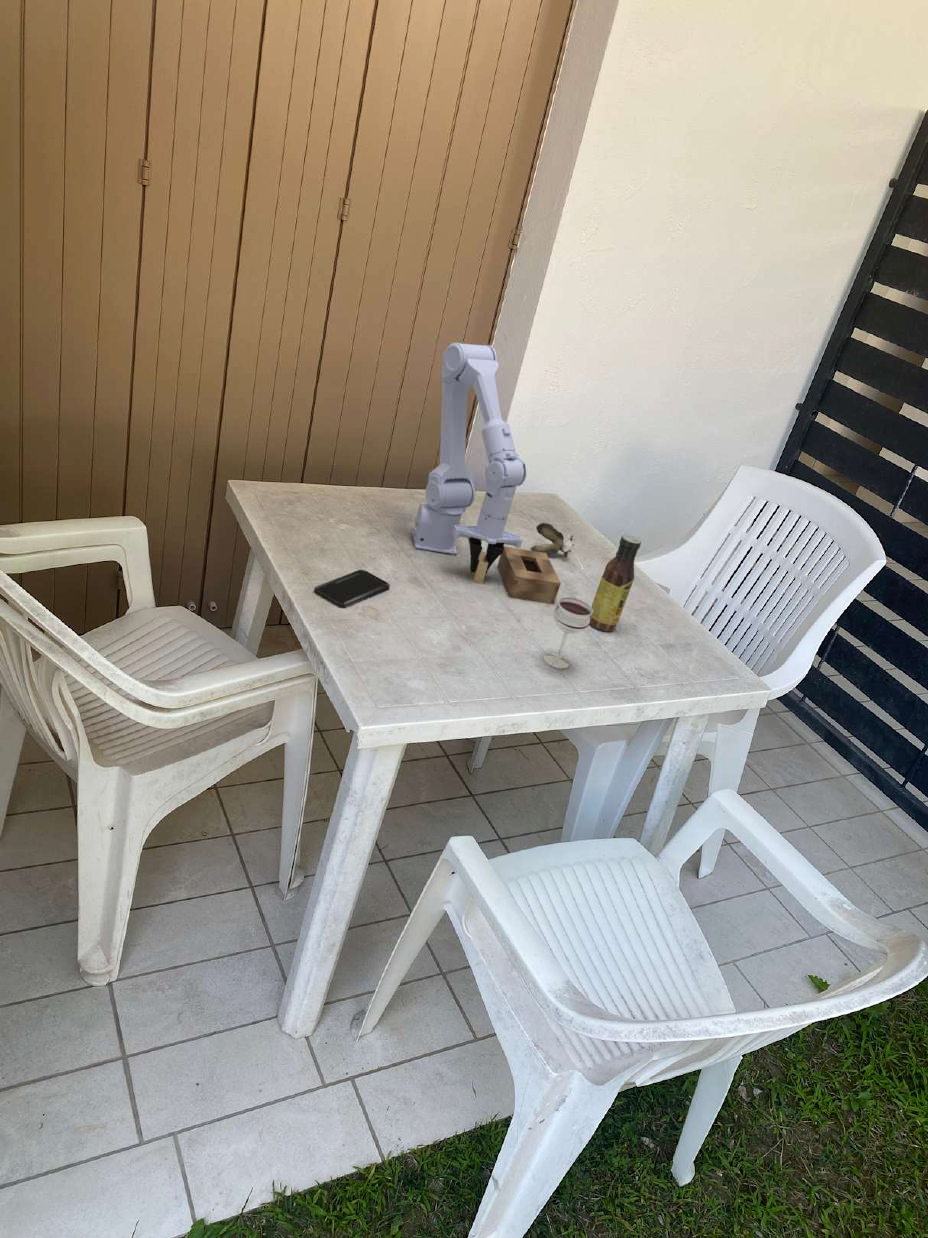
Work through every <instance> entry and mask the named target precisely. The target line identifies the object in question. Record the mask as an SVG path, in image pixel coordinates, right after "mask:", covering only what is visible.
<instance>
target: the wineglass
mask: <svg viewBox="0 0 928 1238" xmlns="http://www.w3.org/2000/svg"><path fill="white" fill-rule="evenodd" d="M557 604H558V605H556V607H555V608H554V611H553V619H554V622H555V623H556V625H557V627H558V628H559V629H560V630H561V631H562V632H563V635H562V639H561V642H560V645H559V648H558V652H557V653H547V654H545V655H544V656H543V660H544V661H545V663H546V664H548V665H550V666H552V667H554V668H557V669H566V668H568V667H569V666H570V662H569V661H568V659H567V658H565V657H564V656H562V655H561V653H562V650H563V649H564V645H565V643H566V641H567V638H568V635H571V634H577V633H579V632H582V631H584V630H585V629H586V628H588V626H589V625H590V623H589V622H590V615H591V614H592V613H593V610H592V608H591V607H592V606H591V605H590V604H588V603H587V602H585V601H583V600H581V599H578V598H575V597H570V596H563V597H560V598H559V599H558V601H557Z"/></svg>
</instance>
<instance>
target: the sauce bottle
mask: <svg viewBox="0 0 928 1238" xmlns="http://www.w3.org/2000/svg"><path fill="white" fill-rule="evenodd" d="M641 544H642V541H641V540H640V539H639V538H638V537H636V536H634V535H630V534H623V535H622V536H621V537H620V540H619V546H618V549H617V551H616V553H615V557H613V558H612V559H611V560H610V561H608V562H607V564H606V566H605V568H604V571H603V575H602V576H601V579H600V581H599V584H598V587H597V590H596V592H595V596H594V599H593V601H592V604H591V606H590V607H591V608H592V610H593V613H592V614H591V615H590V622H589V625H590V626H591V627H593V628H595V629H596V630H600V631H603V632H611V631H613V630H615V629H616V627H617V624H618V623H619V622H620V618H621V616H622V613H623V611H624V607H625V605H626V603H627V600H628V597H629V594H630V591H631V588H632V586H633V583H634V580H635V559H636V556H637V553H638V551H639V549H640V548H641Z"/></svg>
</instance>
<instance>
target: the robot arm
mask: <svg viewBox="0 0 928 1238" xmlns="http://www.w3.org/2000/svg"><path fill="white" fill-rule="evenodd" d="M499 365H500V364H499V363H498V357H497V352H496V350H495V348H494V347H493V346H492V345H489V344H484V345H482V344H472V343H471V344H469V343H460V342H456V341H455V342H452V343H451V344H449V345H448V347H446V349H445V350H444V352H443V353H442V371H441V381H442V384H441V410H440V411H441V413H440V414H441V415H440V416H441V417H440V442H439V443H440V448H439V449H440V450H439V464H438V465H437V466H436V467H435V468H434V469H433V470H432V471H430V472H429V473H428V481H427V485H426V488H425V494H424V495H425V500H426V502H427V503H425V504H424V503H421V504H419V506H418V510H417V513H416V516H415V522H414V526H413V528H412V529H413V530H412V531H411V535H412V538H413V539H412V540H413V544H414V545H413V546H414V548H416V549H417V550H423V551H424V550H425V551H432V552H437V553H444V554H450V555H457V554H458V550H457V548H456V547H457V546H456V545H455V542H456V539H459V538H465V539H468V544H469V551H470V561H469V562H470V563H469V571H470V570H471V572H473V573H474V572H475V569H476V565H477V561H478V558H479V555H480V553H481V551H482V550H483V546H482V541H483V542H486V543H487V548H486V551H485V554H486V557H487V560H488V562H489V563H488V566H487V570H486V573H485V575H486V574H488V571H489V570H490V568H491V566H492V565H493V564H494V562H495V561H496V560H497V559H499V558H500V555H501V554H502V553H503V551H504V546H505V545H507V546H512V547H513V546H514V548H518V549H521V547H522V543H523V538H522V536H521V535H517V534H512V533H510V532H506V531H505V527H506V524H507V521H508V517H509V514H510V511H511V508H512V503H513V501H514V496H515V493H516V489H517V487H519V486H522V485H523V484H524V482H525V481H526V478H527V466H526V462H525V461H524V459H522V458H521V456H520V454H518V452H516V448H515V444H514V440H513V436H512V432H511V428H510V424H509V423H507V422H506V421H504V420H503V419H502V413H501V407H500V401H499V395H498V387H497V382H496V375H497V373H498V371H499V368H500V367H499ZM471 388H472V389H474V390H473V391H474V392H475V396H476V399H477V402H478V405H479V408H480V411H481V414H482V417H483V421H484V426H483V428H482V430H481V435H482V438H483V439H482V440H483V443H484V444H483V445H484V448H485V452H486V456H487V461H488V465H487V466H485V470H484V471H485V472H484V473H485V474H484V475H485V485H484V490H485V494H484V497H483V502H482V505H481V509H480V512H479V515H478V519H477V522H476V523H477V524H476V525H460V524H461V519H462V516H463V513H465V512H466V510H467V508H469V507H471V506H472V505H473V503H474V501H475V497H476V489H475V486H474V485H475V484H474V474H473V473H472V472H471V471H470V470H469V469H468V468H467V466H466V464H465V463H466V445H467V444H466V443H467V442H466V441H467V440H466V439H467V436H466V435H467V415H468V414H467V411H468V391H469V390H470V389H471Z"/></svg>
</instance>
